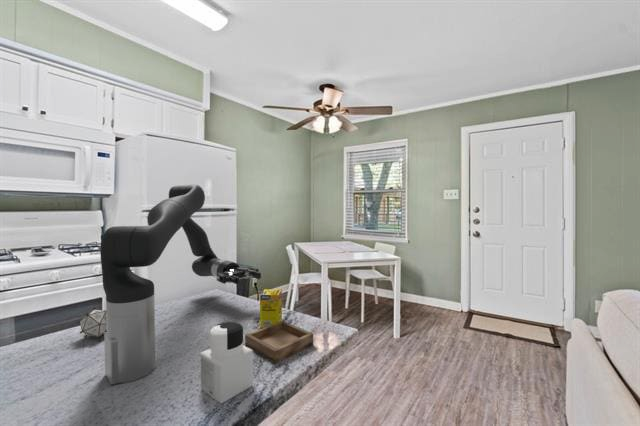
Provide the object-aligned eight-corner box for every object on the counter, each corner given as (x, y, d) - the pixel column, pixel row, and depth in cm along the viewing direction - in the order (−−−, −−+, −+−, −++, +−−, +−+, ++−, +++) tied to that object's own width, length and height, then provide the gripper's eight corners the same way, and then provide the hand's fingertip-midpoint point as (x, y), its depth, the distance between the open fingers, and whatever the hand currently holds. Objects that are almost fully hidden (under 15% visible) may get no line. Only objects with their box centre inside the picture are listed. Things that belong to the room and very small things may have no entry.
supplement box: (279, 330, 89) (279, 294, 88) (259, 330, 89) (259, 294, 89) (282, 322, 95) (282, 289, 94) (263, 322, 95) (263, 289, 94)
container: (232, 372, 67) (232, 315, 66) (253, 385, 62) (253, 324, 61) (200, 388, 61) (199, 326, 60) (221, 405, 56) (220, 337, 55)
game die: (92, 348, 86) (87, 315, 89) (123, 334, 88) (117, 303, 92) (71, 346, 78) (67, 310, 82) (106, 331, 80) (100, 297, 84)
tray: (275, 363, 70) (275, 351, 70) (245, 345, 79) (245, 334, 79) (313, 344, 80) (313, 333, 80) (282, 330, 89) (282, 320, 89)
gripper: (207, 263, 106) (230, 271, 95) (241, 258, 116) (266, 264, 105) (207, 284, 106) (230, 294, 95) (242, 276, 116) (266, 284, 105)
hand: (249, 278), depth 100 cm, fingers open, 8 cm apart
